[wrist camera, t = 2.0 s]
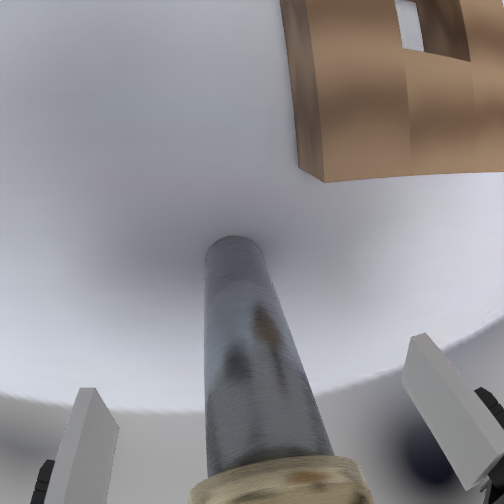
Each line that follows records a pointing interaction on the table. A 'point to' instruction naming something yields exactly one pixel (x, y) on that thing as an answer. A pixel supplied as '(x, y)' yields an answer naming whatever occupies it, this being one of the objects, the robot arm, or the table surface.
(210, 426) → the pin
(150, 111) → the table surface
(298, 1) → the hole block
